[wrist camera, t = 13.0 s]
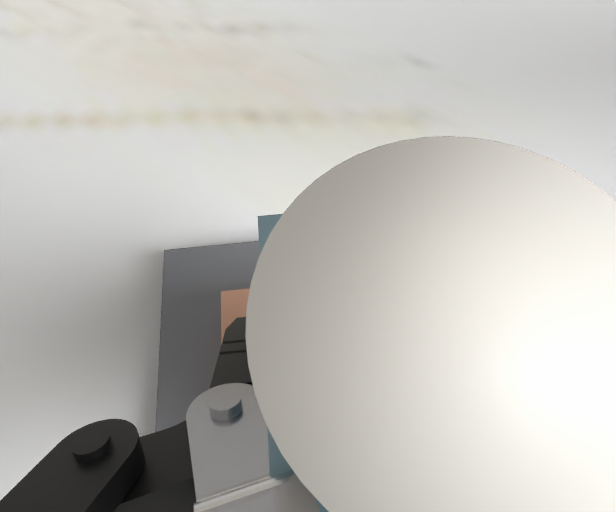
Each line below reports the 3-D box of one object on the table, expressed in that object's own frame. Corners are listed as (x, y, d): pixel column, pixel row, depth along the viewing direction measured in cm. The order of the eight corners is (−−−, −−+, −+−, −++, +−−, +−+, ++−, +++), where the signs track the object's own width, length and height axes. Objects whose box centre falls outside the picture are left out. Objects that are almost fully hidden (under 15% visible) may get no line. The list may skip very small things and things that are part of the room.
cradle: (505, 228, 22) (533, 193, 19) (631, 652, 15) (705, 700, 12) (172, 260, 22) (148, 229, 19) (155, 697, 15) (114, 755, 12)
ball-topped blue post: (419, 346, 16) (608, 119, 5) (445, 481, 14) (809, 557, 4) (298, 357, 16) (239, 155, 5) (308, 494, 14) (253, 610, 4)
